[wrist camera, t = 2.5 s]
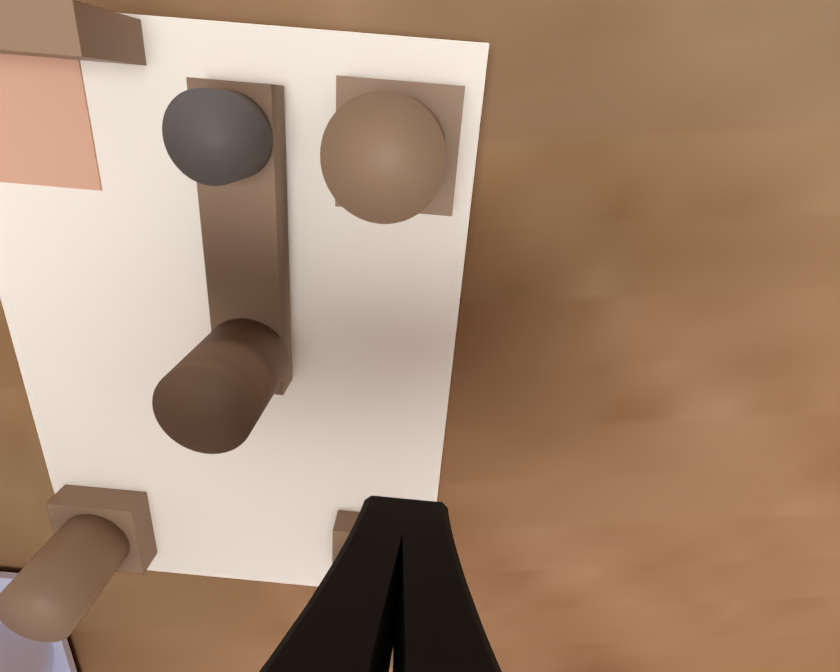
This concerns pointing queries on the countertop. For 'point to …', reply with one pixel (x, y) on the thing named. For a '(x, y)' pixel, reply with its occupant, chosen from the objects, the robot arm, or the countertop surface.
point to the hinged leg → (232, 262)
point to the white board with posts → (188, 298)
